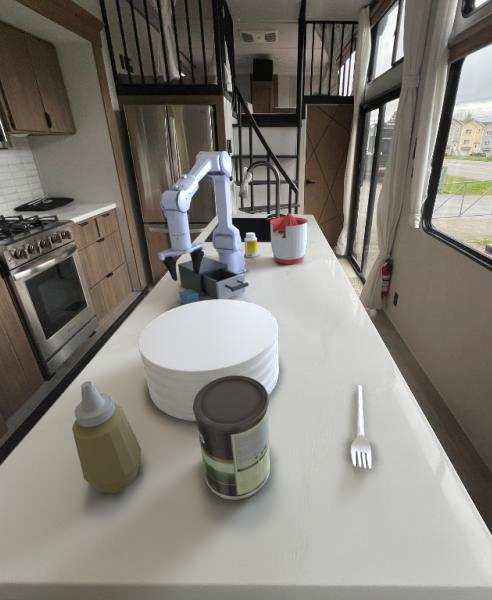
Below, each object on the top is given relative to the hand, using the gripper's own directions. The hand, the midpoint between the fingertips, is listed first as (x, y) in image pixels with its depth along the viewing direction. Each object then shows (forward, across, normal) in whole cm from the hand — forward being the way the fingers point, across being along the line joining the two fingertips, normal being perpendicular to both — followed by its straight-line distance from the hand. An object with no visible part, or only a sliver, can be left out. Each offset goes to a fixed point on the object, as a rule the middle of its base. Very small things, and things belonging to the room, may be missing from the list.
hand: (186, 276), depth 101 cm
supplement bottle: (+9, +45, +22) cm, 51 cm away
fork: (+9, -5, -67) cm, 67 cm away
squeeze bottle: (+9, -40, -46) cm, 62 cm away
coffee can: (+9, -26, -58) cm, 64 cm away
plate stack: (+9, -15, -36) cm, 40 cm away
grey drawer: (+8, +11, -5) cm, 14 cm away
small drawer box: (+9, +11, +8) cm, 16 cm away
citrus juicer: (+9, +51, +5) cm, 52 cm away
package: (+9, 0, 0) cm, 9 cm away
